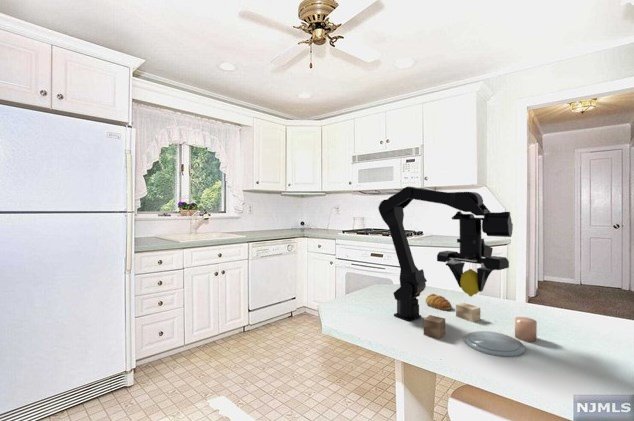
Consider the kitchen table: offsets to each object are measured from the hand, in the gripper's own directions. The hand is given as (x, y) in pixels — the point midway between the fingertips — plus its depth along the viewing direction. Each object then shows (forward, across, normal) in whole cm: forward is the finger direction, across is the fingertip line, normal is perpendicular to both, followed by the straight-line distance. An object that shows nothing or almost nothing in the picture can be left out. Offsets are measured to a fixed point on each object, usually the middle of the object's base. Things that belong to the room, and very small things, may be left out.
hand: (470, 289), depth 94 cm
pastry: (+13, +20, -13) cm, 27 cm away
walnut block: (+12, +5, +10) cm, 17 cm away
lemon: (+2, 0, 0) cm, 2 cm away
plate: (+12, -8, +3) cm, 15 cm away
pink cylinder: (+12, -11, -8) cm, 18 cm away
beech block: (+12, +7, -10) cm, 17 cm away
